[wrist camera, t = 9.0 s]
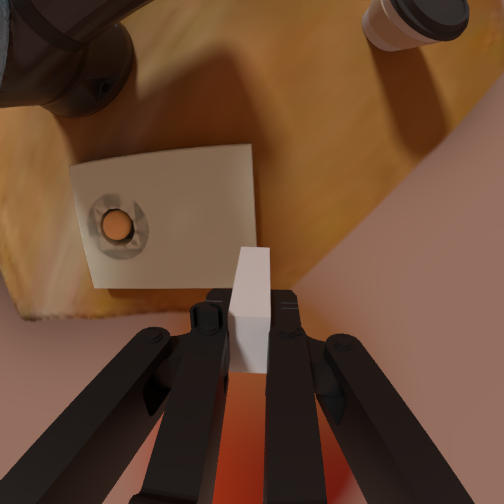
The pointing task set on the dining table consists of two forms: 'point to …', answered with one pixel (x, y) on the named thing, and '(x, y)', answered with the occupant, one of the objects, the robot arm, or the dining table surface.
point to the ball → (117, 224)
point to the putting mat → (168, 216)
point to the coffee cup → (414, 22)
